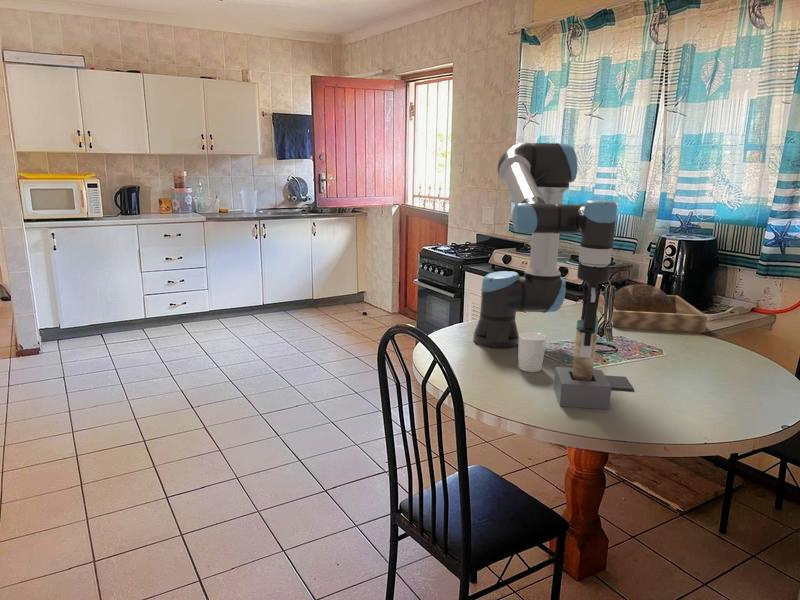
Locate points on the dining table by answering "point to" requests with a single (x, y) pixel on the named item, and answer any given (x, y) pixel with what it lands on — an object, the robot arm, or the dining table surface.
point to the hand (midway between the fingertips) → (584, 353)
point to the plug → (582, 364)
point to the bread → (643, 299)
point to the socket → (581, 389)
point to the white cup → (531, 351)
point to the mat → (619, 383)
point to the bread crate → (660, 317)
